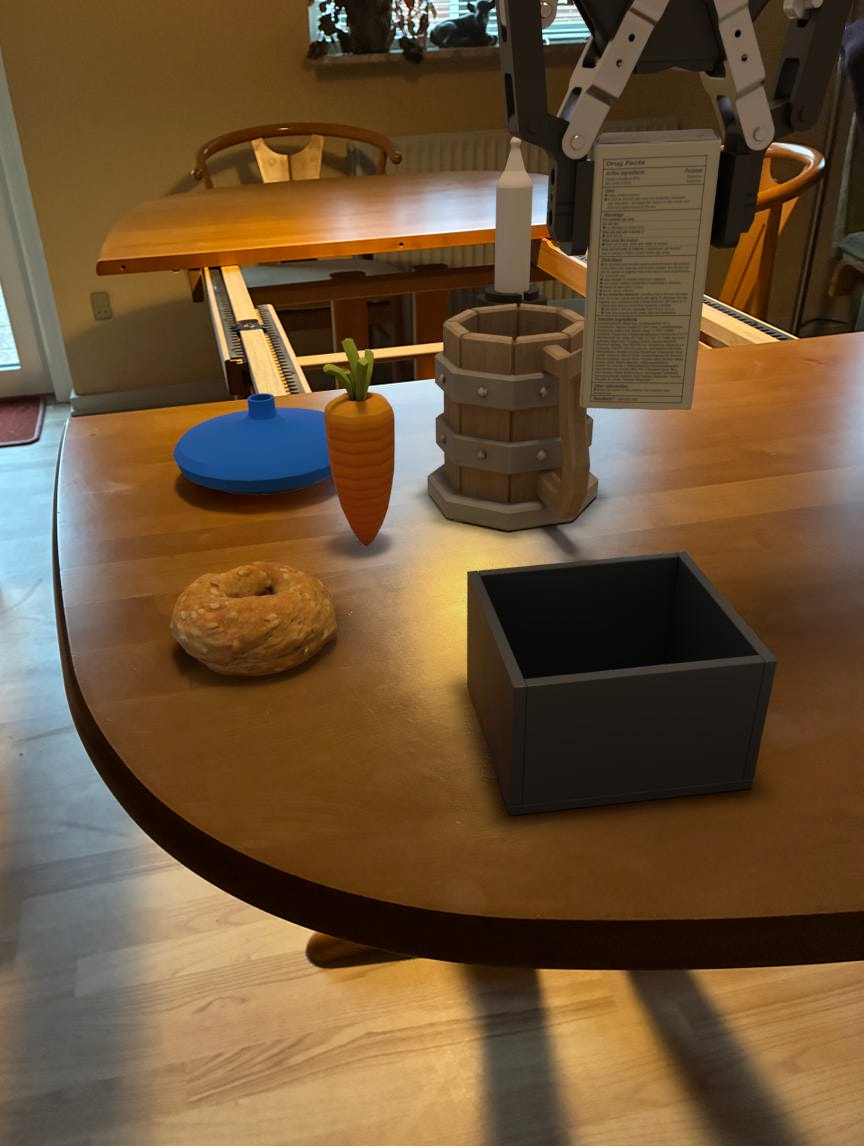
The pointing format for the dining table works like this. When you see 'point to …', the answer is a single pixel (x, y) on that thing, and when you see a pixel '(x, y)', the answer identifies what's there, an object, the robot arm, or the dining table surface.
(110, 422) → the dining table surface
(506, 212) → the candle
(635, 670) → the bin
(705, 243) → the box
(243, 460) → the vase
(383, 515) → the carrot
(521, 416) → the tankard
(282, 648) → the bagel
